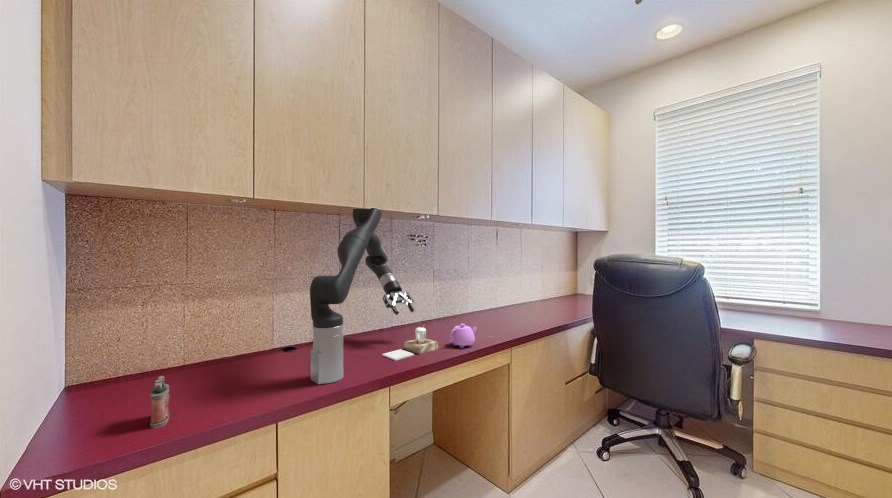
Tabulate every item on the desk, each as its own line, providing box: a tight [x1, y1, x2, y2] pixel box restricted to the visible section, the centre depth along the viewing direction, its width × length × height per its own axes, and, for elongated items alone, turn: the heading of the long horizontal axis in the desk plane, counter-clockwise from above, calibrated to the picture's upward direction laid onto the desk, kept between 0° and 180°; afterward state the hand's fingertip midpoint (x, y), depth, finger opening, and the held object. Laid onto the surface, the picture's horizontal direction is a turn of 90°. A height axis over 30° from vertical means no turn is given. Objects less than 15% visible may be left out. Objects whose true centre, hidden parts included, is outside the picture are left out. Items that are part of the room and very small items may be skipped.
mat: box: [381, 348, 415, 362], centre depth 130 cm, size 9×9×1 cm
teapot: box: [449, 323, 478, 349], centre depth 144 cm, size 10×15×9 cm
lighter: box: [149, 375, 170, 429], centre depth 80 cm, size 8×3×10 cm, turn 35°
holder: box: [403, 337, 439, 355], centre depth 138 cm, size 10×10×3 cm
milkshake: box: [414, 323, 427, 345], centre depth 138 cm, size 4×5×10 cm
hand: (405, 312), depth 146 cm, fingers open, 8 cm apart
